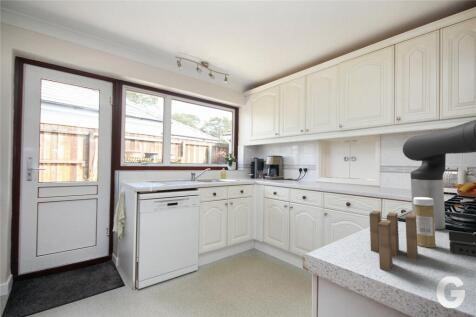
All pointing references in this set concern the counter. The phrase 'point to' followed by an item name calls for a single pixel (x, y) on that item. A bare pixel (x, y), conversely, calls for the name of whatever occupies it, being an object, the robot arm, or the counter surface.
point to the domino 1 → (385, 244)
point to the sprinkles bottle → (425, 221)
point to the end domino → (374, 230)
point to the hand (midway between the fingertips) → (449, 240)
